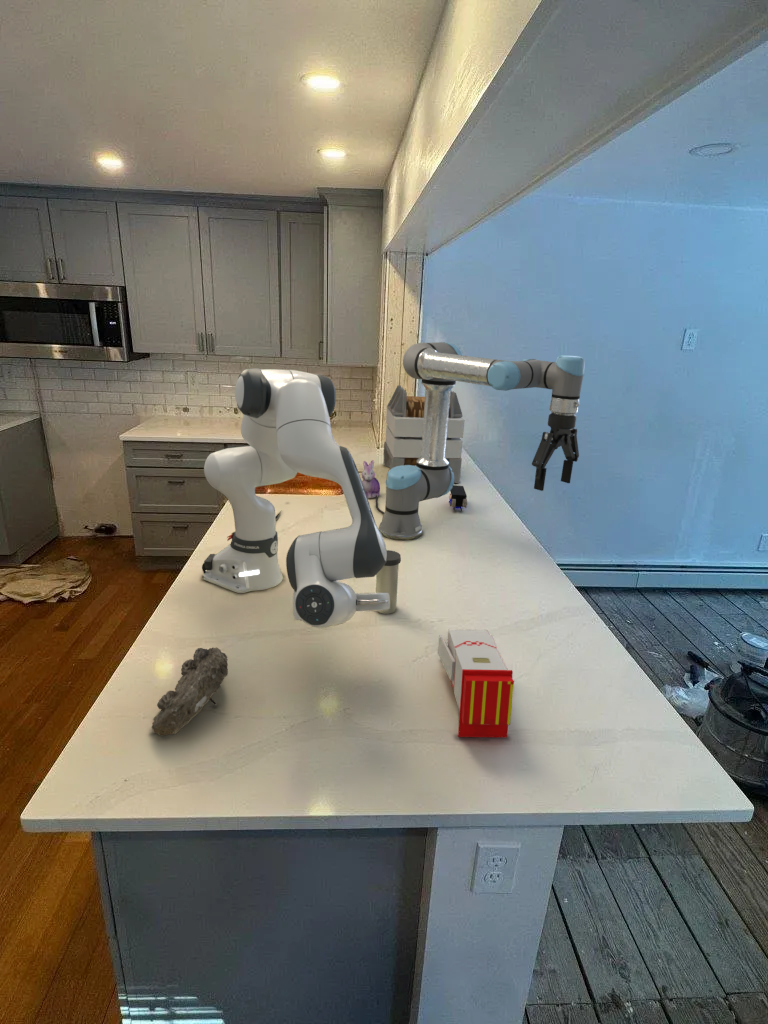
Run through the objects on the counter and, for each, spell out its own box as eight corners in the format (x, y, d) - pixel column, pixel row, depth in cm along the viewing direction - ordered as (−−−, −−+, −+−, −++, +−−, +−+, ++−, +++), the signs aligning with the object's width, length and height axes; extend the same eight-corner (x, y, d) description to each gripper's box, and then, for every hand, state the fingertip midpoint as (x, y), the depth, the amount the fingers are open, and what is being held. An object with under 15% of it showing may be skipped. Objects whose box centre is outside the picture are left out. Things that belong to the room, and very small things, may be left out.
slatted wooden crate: (382, 463, 289) (386, 382, 275) (445, 464, 293) (451, 384, 279) (390, 482, 257) (394, 392, 243) (460, 483, 261) (468, 394, 247)
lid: (394, 568, 141) (394, 562, 141) (370, 562, 144) (371, 557, 143) (404, 558, 147) (404, 553, 146) (381, 553, 149) (381, 548, 149)
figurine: (365, 500, 232) (366, 464, 227) (354, 493, 241) (355, 458, 236) (385, 497, 237) (387, 463, 231) (374, 490, 245) (375, 457, 240)
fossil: (179, 649, 121) (229, 617, 116) (211, 678, 124) (260, 649, 119) (128, 729, 101) (185, 695, 96) (167, 762, 104) (224, 731, 99)
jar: (391, 615, 146) (393, 563, 141) (371, 610, 149) (373, 558, 143) (399, 606, 151) (402, 555, 146) (380, 601, 153) (382, 550, 148)
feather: (288, 505, 226) (290, 501, 226) (271, 529, 199) (273, 524, 199) (284, 503, 226) (287, 499, 225) (266, 526, 199) (269, 522, 199)
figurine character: (467, 516, 223) (461, 500, 237) (469, 499, 220) (463, 483, 233) (450, 516, 223) (446, 499, 236) (452, 498, 220) (447, 483, 233)
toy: (488, 613, 130) (523, 677, 101) (484, 667, 133) (517, 744, 104) (435, 612, 130) (455, 676, 101) (432, 666, 133) (451, 743, 103)
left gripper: (385, 585, 113) (393, 586, 127) (286, 589, 116) (305, 589, 129) (386, 617, 112) (394, 615, 126) (286, 620, 115) (305, 617, 128)
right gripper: (548, 419, 148) (537, 496, 155) (598, 411, 163) (586, 482, 171) (525, 414, 153) (515, 489, 160) (575, 407, 169) (564, 476, 176)
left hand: (348, 602), depth 128 cm, fingers open, 8 cm apart
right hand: (552, 485), depth 166 cm, fingers open, 13 cm apart
